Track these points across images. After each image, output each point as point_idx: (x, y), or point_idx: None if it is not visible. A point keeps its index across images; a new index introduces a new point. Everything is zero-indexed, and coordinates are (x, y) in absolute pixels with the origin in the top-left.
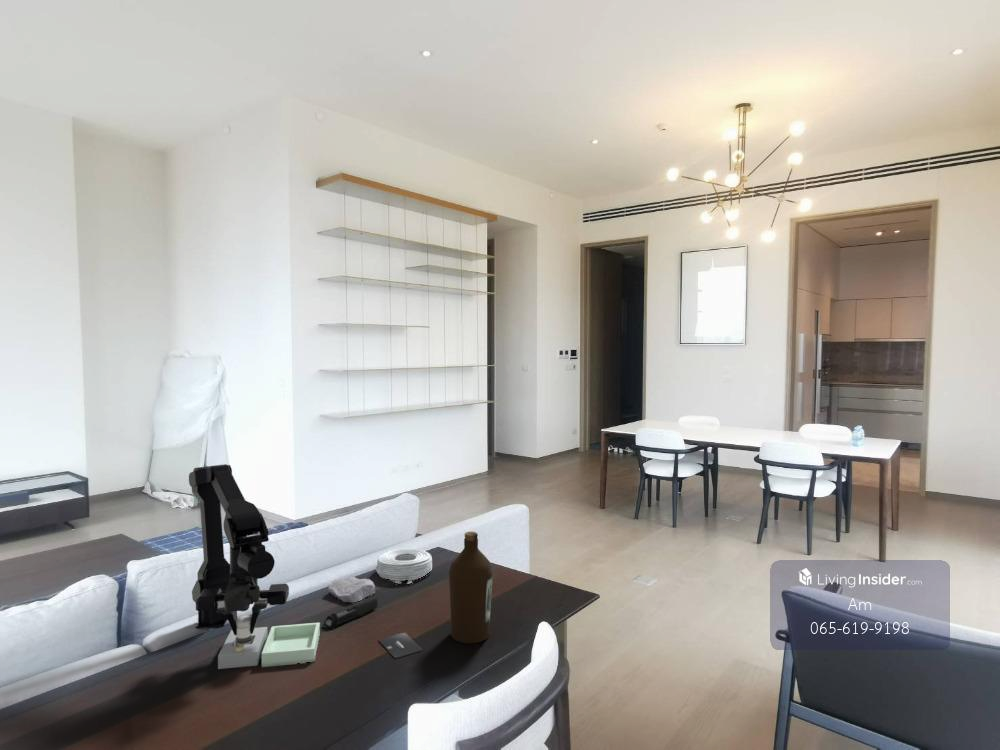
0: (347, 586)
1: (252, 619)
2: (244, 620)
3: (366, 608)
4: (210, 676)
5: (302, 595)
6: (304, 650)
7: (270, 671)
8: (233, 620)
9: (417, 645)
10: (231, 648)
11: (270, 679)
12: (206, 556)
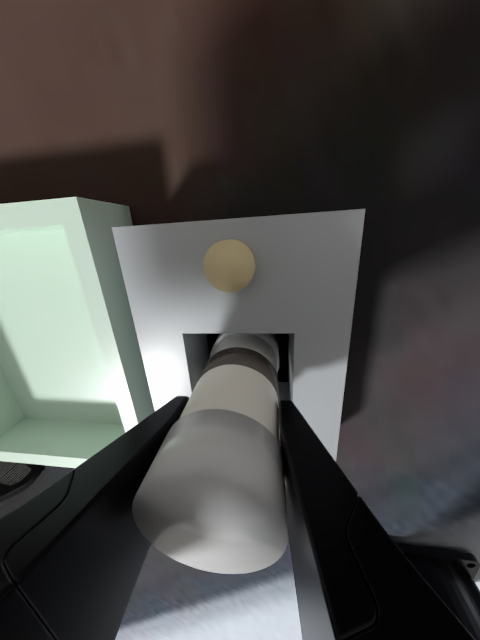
0: None
1: (92, 488)
2: (186, 496)
3: None
4: (368, 132)
5: (175, 611)
6: None
7: (72, 157)
8: (311, 519)
9: None
10: (289, 298)
11: (33, 58)
12: None
